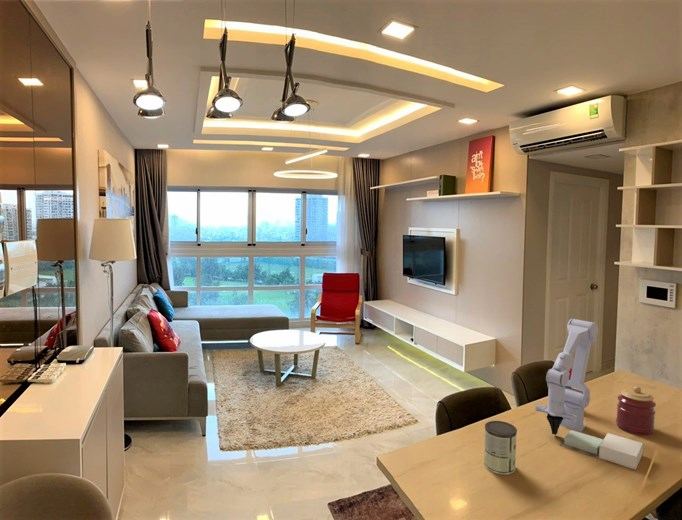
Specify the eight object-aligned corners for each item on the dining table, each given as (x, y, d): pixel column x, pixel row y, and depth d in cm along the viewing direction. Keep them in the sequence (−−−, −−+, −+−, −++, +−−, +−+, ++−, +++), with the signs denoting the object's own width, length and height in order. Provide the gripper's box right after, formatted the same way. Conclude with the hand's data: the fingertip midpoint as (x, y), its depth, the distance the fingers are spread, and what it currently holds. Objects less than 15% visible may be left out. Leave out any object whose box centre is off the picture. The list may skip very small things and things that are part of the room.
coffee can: (482, 457, 156) (483, 419, 155) (512, 460, 154) (513, 422, 153) (485, 473, 146) (486, 432, 145) (518, 476, 144) (519, 436, 143)
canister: (653, 439, 169) (656, 395, 168) (614, 429, 177) (616, 387, 175) (654, 427, 180) (657, 385, 178) (617, 418, 187) (619, 378, 186)
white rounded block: (598, 457, 155) (599, 445, 155) (607, 444, 164) (607, 432, 164) (635, 469, 148) (636, 456, 147) (642, 455, 157) (642, 443, 156)
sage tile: (564, 443, 165) (564, 437, 164) (570, 435, 171) (571, 429, 171) (597, 454, 157) (597, 448, 157) (602, 445, 163) (603, 439, 163)
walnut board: (559, 447, 163) (559, 445, 163) (570, 433, 174) (570, 432, 174) (635, 472, 147) (635, 470, 147) (642, 455, 157) (642, 454, 157)
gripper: (533, 397, 172) (531, 430, 173) (573, 408, 162) (571, 443, 163) (539, 392, 177) (538, 424, 178) (578, 402, 167) (577, 436, 168)
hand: (554, 433), depth 171 cm, fingers closed
